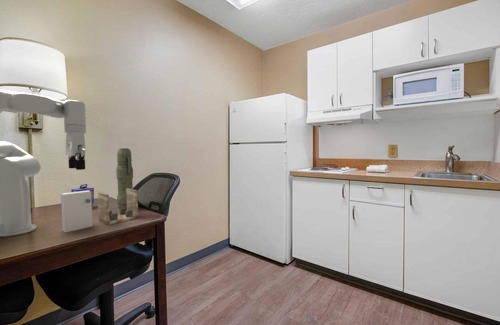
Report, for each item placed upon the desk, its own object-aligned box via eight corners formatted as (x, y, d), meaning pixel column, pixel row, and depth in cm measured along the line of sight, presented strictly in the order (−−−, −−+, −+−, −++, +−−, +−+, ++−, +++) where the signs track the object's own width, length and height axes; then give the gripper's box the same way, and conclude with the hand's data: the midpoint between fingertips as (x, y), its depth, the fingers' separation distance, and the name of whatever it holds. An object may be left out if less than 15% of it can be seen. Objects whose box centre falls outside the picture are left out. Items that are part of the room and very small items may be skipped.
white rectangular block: (65, 233, 99) (64, 195, 98) (62, 230, 102) (60, 193, 101) (93, 226, 106) (91, 191, 105) (89, 224, 110) (88, 190, 109)
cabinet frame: (106, 225, 109) (105, 194, 108) (99, 220, 115) (97, 192, 114) (138, 217, 120) (137, 190, 119) (129, 214, 126) (128, 188, 125)
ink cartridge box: (77, 211, 132) (75, 185, 131) (71, 210, 134) (70, 185, 133) (95, 207, 141) (94, 183, 140) (89, 206, 143) (88, 182, 142)
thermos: (126, 204, 149) (124, 148, 146) (139, 206, 143) (137, 148, 141) (112, 207, 141) (110, 148, 138) (125, 209, 135) (123, 148, 133)
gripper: (59, 129, 105) (60, 168, 106) (71, 128, 94) (72, 170, 95) (79, 130, 111) (80, 167, 112) (92, 129, 100) (94, 169, 101)
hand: (76, 168), depth 104 cm, fingers open, 9 cm apart
